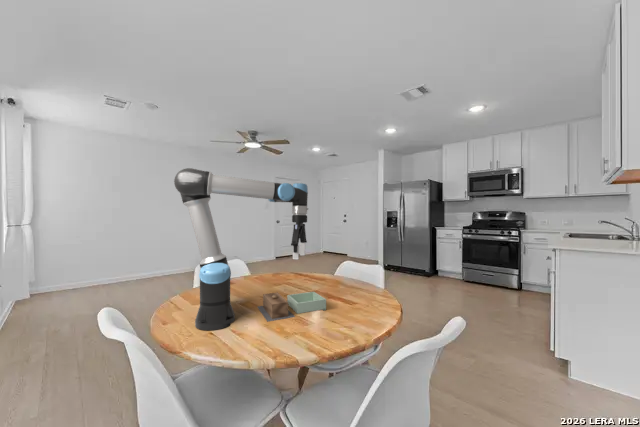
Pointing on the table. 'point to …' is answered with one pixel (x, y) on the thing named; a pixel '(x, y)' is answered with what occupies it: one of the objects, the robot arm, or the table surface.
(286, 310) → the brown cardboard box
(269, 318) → the mat
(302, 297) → the dish
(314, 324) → the table surface
